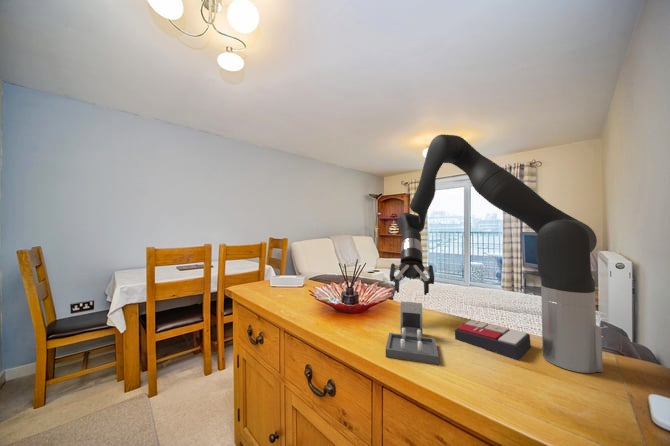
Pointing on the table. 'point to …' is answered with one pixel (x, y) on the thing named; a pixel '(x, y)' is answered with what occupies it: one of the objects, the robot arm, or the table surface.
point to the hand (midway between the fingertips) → (411, 292)
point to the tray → (412, 347)
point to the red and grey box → (494, 338)
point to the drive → (411, 317)
